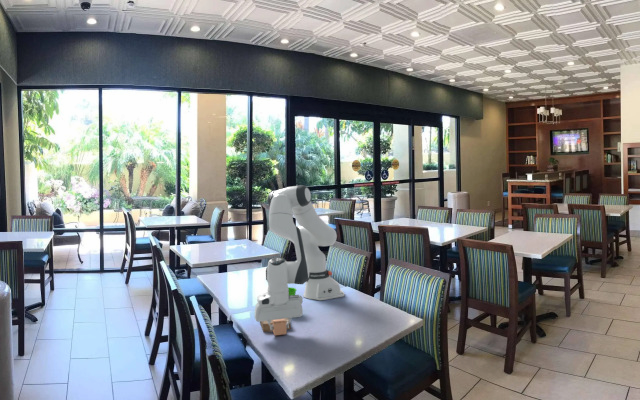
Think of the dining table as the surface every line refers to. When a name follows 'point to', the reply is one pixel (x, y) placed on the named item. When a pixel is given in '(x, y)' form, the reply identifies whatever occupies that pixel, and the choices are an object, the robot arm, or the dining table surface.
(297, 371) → the dining table surface
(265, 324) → the base slab
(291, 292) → the cup
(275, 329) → the cube
